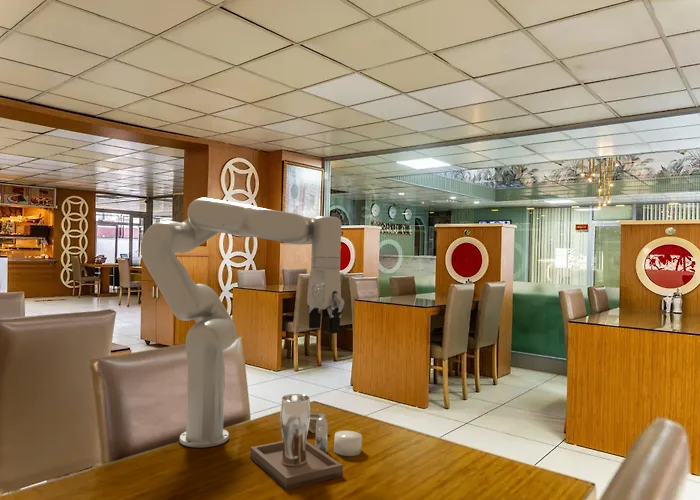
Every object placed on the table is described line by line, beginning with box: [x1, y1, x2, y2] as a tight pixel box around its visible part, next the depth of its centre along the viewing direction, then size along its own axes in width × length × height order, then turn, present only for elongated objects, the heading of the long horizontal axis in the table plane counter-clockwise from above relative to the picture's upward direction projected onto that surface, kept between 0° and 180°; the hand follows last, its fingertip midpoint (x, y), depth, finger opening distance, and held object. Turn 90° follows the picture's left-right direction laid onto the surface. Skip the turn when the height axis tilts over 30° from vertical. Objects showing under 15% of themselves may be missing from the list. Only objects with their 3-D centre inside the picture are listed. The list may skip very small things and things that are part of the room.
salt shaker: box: [314, 417, 329, 454], centre depth 131 cm, size 3×3×8 cm
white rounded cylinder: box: [333, 430, 363, 457], centre depth 131 cm, size 7×7×4 cm
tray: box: [249, 440, 344, 491], centre depth 121 cm, size 20×14×2 cm
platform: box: [308, 408, 326, 434], centre depth 145 cm, size 12×18×7 cm, turn 85°
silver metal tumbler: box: [279, 393, 311, 467], centre depth 121 cm, size 7×7×15 cm
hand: (323, 330), depth 133 cm, fingers open, 9 cm apart
